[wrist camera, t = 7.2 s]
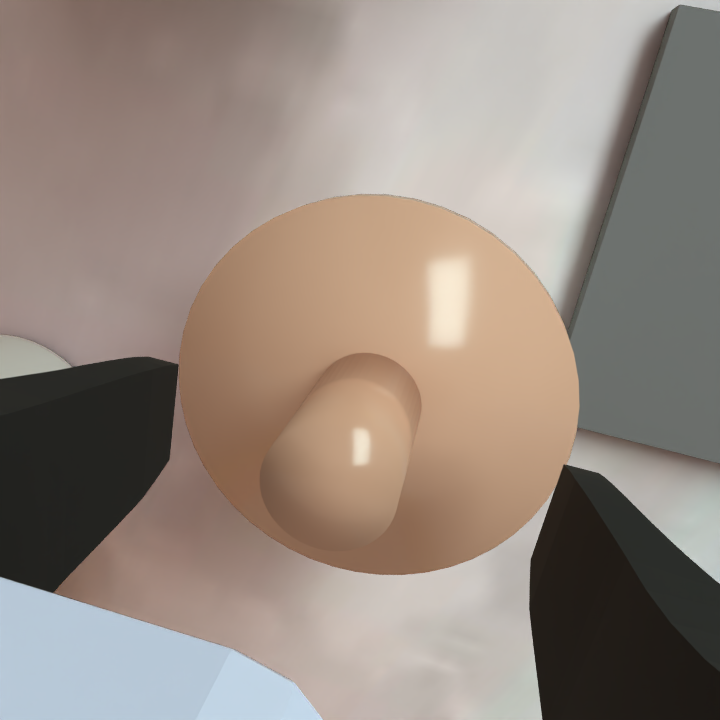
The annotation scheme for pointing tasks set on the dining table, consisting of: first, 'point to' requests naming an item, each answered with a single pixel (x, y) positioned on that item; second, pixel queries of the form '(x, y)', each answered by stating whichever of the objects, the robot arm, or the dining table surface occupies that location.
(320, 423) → the lid
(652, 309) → the mat
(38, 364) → the pill bottle
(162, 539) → the dining table surface
